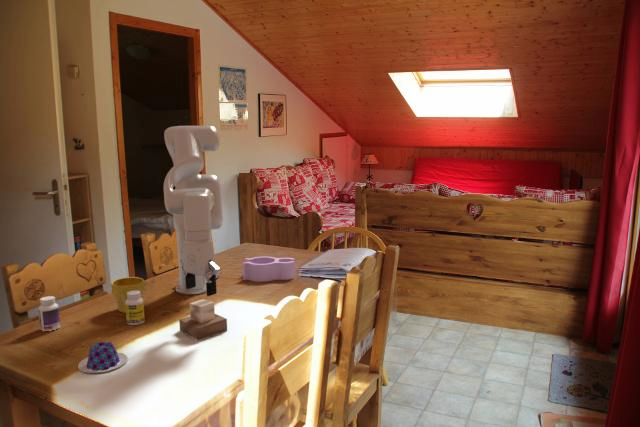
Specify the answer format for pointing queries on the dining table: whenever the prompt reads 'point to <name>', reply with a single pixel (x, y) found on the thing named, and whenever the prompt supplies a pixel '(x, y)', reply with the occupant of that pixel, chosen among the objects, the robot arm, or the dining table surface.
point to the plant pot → (125, 289)
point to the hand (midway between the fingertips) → (201, 291)
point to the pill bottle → (49, 314)
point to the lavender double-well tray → (268, 268)
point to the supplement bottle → (134, 308)
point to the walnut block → (203, 327)
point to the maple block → (202, 310)
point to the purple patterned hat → (102, 358)
